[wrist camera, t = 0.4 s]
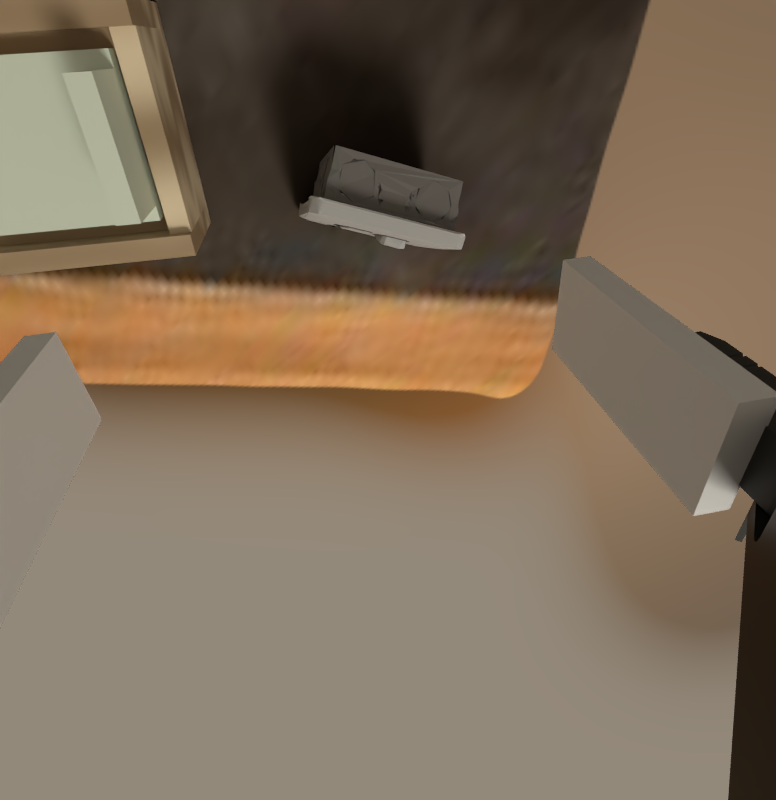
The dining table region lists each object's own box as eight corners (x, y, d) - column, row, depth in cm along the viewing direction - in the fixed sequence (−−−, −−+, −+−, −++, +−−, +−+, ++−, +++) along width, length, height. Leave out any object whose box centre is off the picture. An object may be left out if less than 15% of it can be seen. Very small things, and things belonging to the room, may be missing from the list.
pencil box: (-158, 19, 27) (-278, 12, 21) (156, 2, 28) (123, -9, 23) (-37, 245, 34) (-103, 286, 28) (210, 221, 35) (195, 255, 30)
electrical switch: (296, 215, 36) (302, 243, 28) (310, 135, 34) (320, 142, 26) (420, 245, 39) (457, 278, 31) (440, 172, 36) (486, 189, 29)
